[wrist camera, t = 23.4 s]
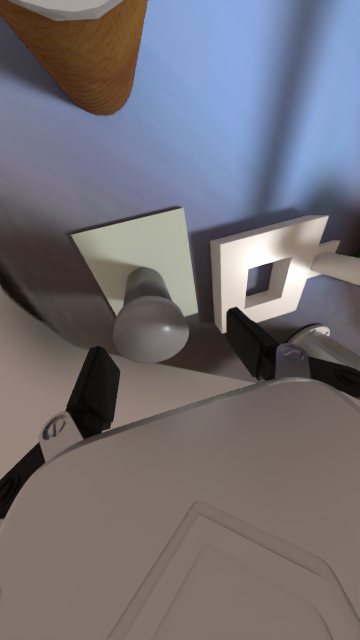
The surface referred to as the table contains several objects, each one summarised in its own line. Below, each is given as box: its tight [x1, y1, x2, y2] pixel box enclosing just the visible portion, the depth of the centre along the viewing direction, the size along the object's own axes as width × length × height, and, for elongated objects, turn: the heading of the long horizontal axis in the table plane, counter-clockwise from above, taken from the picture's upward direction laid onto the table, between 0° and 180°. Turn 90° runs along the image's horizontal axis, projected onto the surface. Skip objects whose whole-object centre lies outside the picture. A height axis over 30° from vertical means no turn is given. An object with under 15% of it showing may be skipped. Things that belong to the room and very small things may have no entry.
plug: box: [113, 267, 189, 363], centre depth 16 cm, size 6×6×10 cm
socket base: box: [210, 215, 360, 334], centre depth 19 cm, size 14×20×12 cm
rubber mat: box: [71, 208, 198, 317], centre depth 20 cm, size 14×12×1 cm
